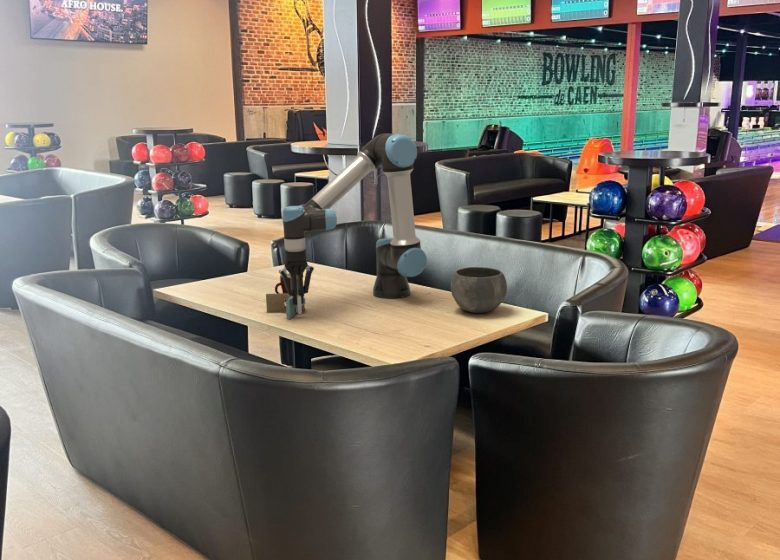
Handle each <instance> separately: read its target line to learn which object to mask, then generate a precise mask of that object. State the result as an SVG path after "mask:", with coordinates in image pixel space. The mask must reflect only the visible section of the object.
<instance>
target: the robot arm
mask: <svg viewBox="0 0 780 560" xmlns="http://www.w3.org/2000/svg"><path fill="white" fill-rule="evenodd" d="M417 156H418V147H417V145H416V143H415V141H414V140H413V139H412V137H410V136H407V135H405V134H401V133H390V132H389V133H388V132H385V133H381V134H378V135H376V136H375V137H373V138H372V139H371V140H369V142H367V143H366V144H365V145H364V146H363V147H362V148H361V149H359V151H357V156H356V157H355V158H354V159H353V160H351V162H349V164H348V165H346V167H344V168H343V169H342V170H341V171H340V172H339V173H337V175H336V176H334V177H333V178H332V179H331V180H330V181H329V182H328V183H327V184H326V185H325V186H323V188H322V189H321V190H319V191H318V192H317V193H316V194H315V195H314V196H313V197H311V199H309V200H308V201H307V202H306V203H305V204H304V203H303V204H300V205H289V206H286V207H284V208H283V210H282V224H283V225H282V226H283V227H282V228H283V240H284V243H283V244H284V250H285V251H284V259H285V264H284V265H283V266H284V267H283V268H282V269H279V270H278V273H279V274H280V275H281V276H282V278H283V281H284V284H285V287H286V291H287V294H289V295H291V296H293V304H294V305H296V313H298V314H299V315H300V314H301V313H302V306H301V304H303V303H304V299H303V296H304V297H305V295H306V294H308V293H309V289H310V283H311V278H312V274H313V272H314V271H315V268H314V267H313V266H311V265H309V264H308V261H307V250H306V247H307V246H306V233H308V232H310V233H311V232H319V231H320V232H321V231H329V230H334V229H335V228H336V226H337V223H338V219H337V218H338V217H337V214H336V211H335V210H334V209H333V208H332V207H333V206H334V205H336V204H337V203H338V202H339V201H340V200H341V199H343V197H344V196H346V194H347V193H348V192H350V191H351V190H352V189H353V188H354V187H355V186H356V185H357V184H358V183H359V182H360V181H362V180H363V179H364V178H365V177H367V175H368V174H369V173H370V172H375V171H376V170H378V168H380V167H382V173H383V174H384V175H386V177H387V185H388V186H387V187H388V188H387V189H388V197H389V198H388V199H389V205H390V216H391V217H390V218H391V227H392V236H393V237H387V238H386V237H385V238H379V239H378V240H377V241H376V243H375V254H376V255H375V256H376V258H375V259H376V277H375V282H374V284H373V288H372V295H373V296H374V297H377V298H382V299H399V298H405V297H407V296H409V295H410V294H411V288H410V287H411V286H410V285H409V281H408V278H413V277H418V275H420V274H422V272H423V271H424V270H425V269H426V266H427V261H428V258H427V255H426V252H425V251H424V250H423V249H422V248H421V247H422V245H421V239H420V238H419V237H417V235H416V226H415V216H414V215H415V214H414V213H415V212H414V204H413V203H414V202H413V193H412V184H411V183H412V182H411V181H412V180H411V173H412V171H413V170H414V163H415V161H416V160H417ZM288 273H290V277H291V287H292V290H291V287H290V283H289V280H288V277H287V275H286V274H288ZM304 273H305V276H304ZM296 278H297V279H298V294H299V295H297V280H296Z"/></svg>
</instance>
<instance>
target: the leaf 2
mask: <svg viewBox="0 0 780 560" xmlns="http://www.w3.org/2000/svg"><path fill="white" fill-rule="evenodd" d="M304 304H306V298H305V297H304V303H303V304H301V306H303V305H304ZM285 306H286V312H285V314H286V320H291V319H292V317H293V316H294V315H295V307H296V305H294V304H293V296H291V297H290V298H289V299H288V300H285Z"/></svg>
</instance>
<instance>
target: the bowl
mask: <svg viewBox="0 0 780 560" xmlns="http://www.w3.org/2000/svg"><path fill="white" fill-rule="evenodd" d="M507 291H508V283H507V280H506V277H505V274H504V273H503V271H501V270H500V269H497V268H492V267H481V266H479V267H478V266H473V267H472V266H470V267H463V268H459V269H457V270H456V271H455V272H454V274H453V276H452V277H451V281H450V292H451V295H452V298H453V299H454V302H455V303H456V304H457V306H458V307H459V308H461V309H462V310H464V311H466V312H470V313H473V314H475V313H476V314H484V313H489V312H491V311H494V310H495V309H497V308H498V307H499V306H500V305H501V304H502V303H503V301H504V300H505V298H506V295H507Z"/></svg>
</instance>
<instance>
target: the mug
mask: <svg viewBox="0 0 780 560" xmlns="http://www.w3.org/2000/svg"><path fill="white" fill-rule="evenodd" d="M286 275H287V277H288V280H289V283H290V287H291V277H290V273H289V272H287V274H286ZM279 287H281V291H282V292H281V293H287V291H286V287H285V284H284V281H283V278H282V276H281V274H280V275H279V282H277V284H276V285H275V286H274V292H275V294H278V293H280V292H279V290H278V288H279Z"/></svg>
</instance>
